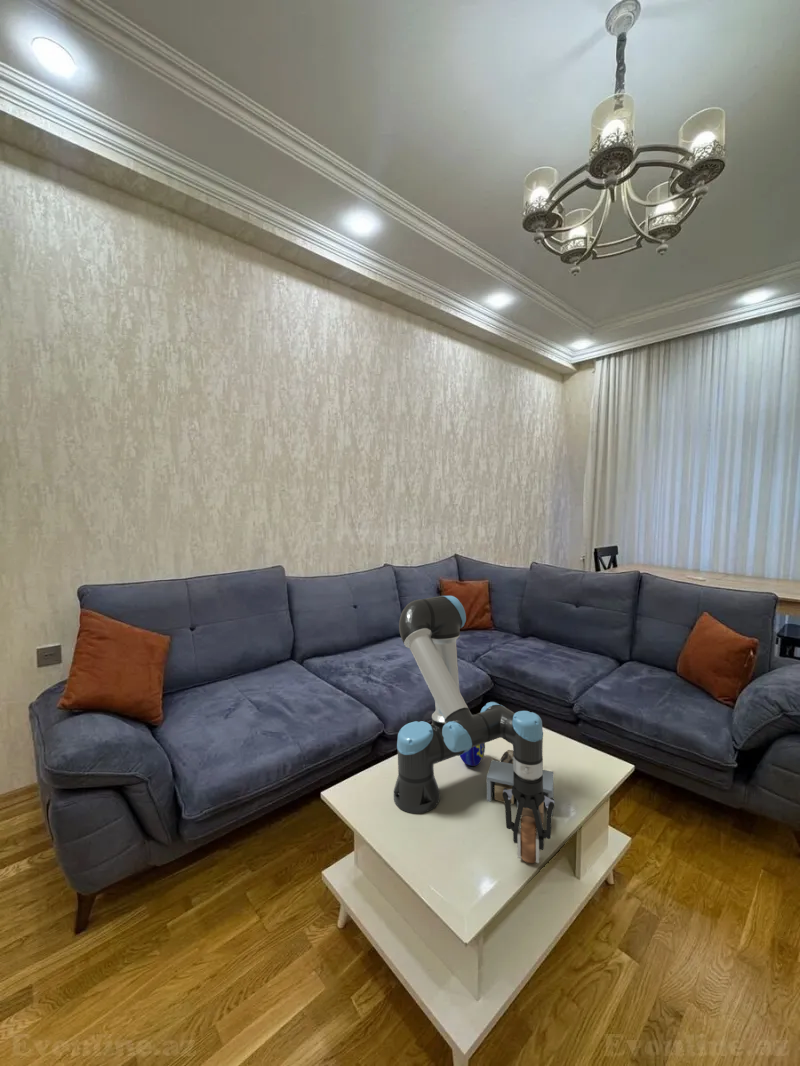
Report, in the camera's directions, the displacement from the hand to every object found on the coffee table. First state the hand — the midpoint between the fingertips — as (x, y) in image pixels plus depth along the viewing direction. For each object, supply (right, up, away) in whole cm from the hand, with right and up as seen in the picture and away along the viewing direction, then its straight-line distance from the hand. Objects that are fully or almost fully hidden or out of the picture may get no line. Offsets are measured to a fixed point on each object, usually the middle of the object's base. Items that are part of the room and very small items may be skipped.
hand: (528, 856), depth 115 cm
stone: (+6, +1, +37) cm, 37 cm away
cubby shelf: (+5, 0, +24) cm, 25 cm away
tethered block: (+3, 0, +7) cm, 8 cm away
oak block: (0, 0, +26) cm, 26 cm away
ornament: (-8, +1, +44) cm, 45 cm away
